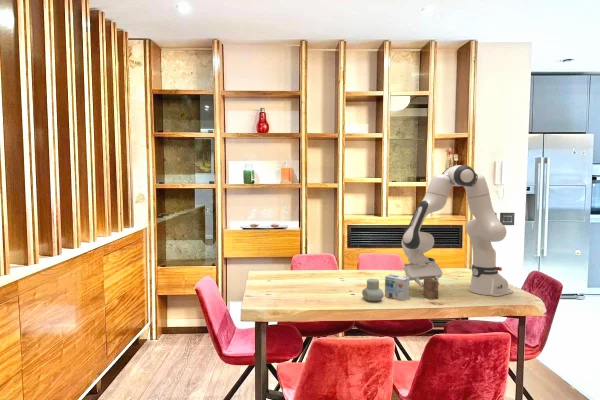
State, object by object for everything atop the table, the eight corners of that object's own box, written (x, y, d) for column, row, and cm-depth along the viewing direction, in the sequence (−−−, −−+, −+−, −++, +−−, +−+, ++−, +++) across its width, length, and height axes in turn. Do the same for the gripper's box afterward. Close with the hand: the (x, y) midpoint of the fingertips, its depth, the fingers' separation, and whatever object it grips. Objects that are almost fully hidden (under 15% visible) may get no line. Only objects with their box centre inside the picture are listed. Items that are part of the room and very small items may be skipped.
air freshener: (360, 297, 192) (360, 278, 191) (375, 296, 194) (375, 276, 193) (370, 303, 181) (370, 283, 181) (385, 302, 183) (385, 282, 183)
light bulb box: (384, 296, 193) (384, 275, 193) (390, 293, 198) (391, 273, 198) (403, 300, 186) (403, 279, 185) (409, 297, 191) (409, 277, 190)
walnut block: (431, 295, 194) (431, 278, 194) (437, 298, 190) (438, 281, 189) (423, 296, 193) (423, 279, 192) (429, 299, 188) (429, 281, 188)
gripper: (404, 260, 195) (415, 284, 186) (437, 258, 201) (449, 281, 192) (399, 267, 199) (409, 290, 190) (431, 265, 206) (443, 287, 197)
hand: (430, 285), depth 191 cm, fingers open, 8 cm apart
